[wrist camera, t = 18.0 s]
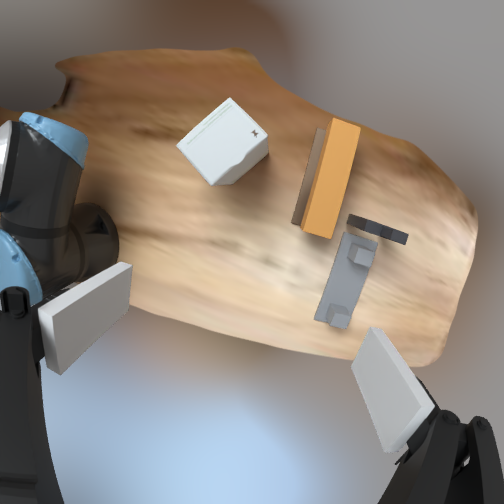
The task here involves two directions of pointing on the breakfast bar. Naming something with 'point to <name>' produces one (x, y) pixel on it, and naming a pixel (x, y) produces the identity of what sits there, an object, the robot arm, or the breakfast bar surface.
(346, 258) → the clip mount
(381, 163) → the breakfast bar surface
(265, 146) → the skincare box
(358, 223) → the grey gate frame
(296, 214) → the rest
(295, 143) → the breakfast bar surface
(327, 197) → the orange tapered block
